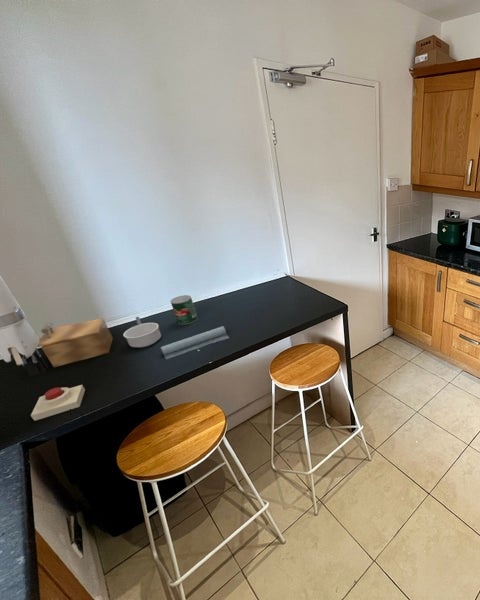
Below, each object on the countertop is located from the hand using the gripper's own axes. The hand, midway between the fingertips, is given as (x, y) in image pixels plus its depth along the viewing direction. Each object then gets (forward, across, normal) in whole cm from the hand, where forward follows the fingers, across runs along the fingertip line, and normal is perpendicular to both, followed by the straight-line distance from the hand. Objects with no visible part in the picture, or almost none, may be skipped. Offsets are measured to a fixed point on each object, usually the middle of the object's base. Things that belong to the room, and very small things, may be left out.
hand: (39, 371), depth 92 cm
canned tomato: (+13, -38, +36) cm, 54 cm away
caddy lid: (+4, -32, +1) cm, 33 cm away
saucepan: (+13, -32, +20) cm, 40 cm away
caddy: (+13, -32, +1) cm, 35 cm away
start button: (+10, 0, 0) cm, 10 cm away
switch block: (+13, 0, 0) cm, 13 cm away
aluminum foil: (+13, -13, +38) cm, 42 cm away
